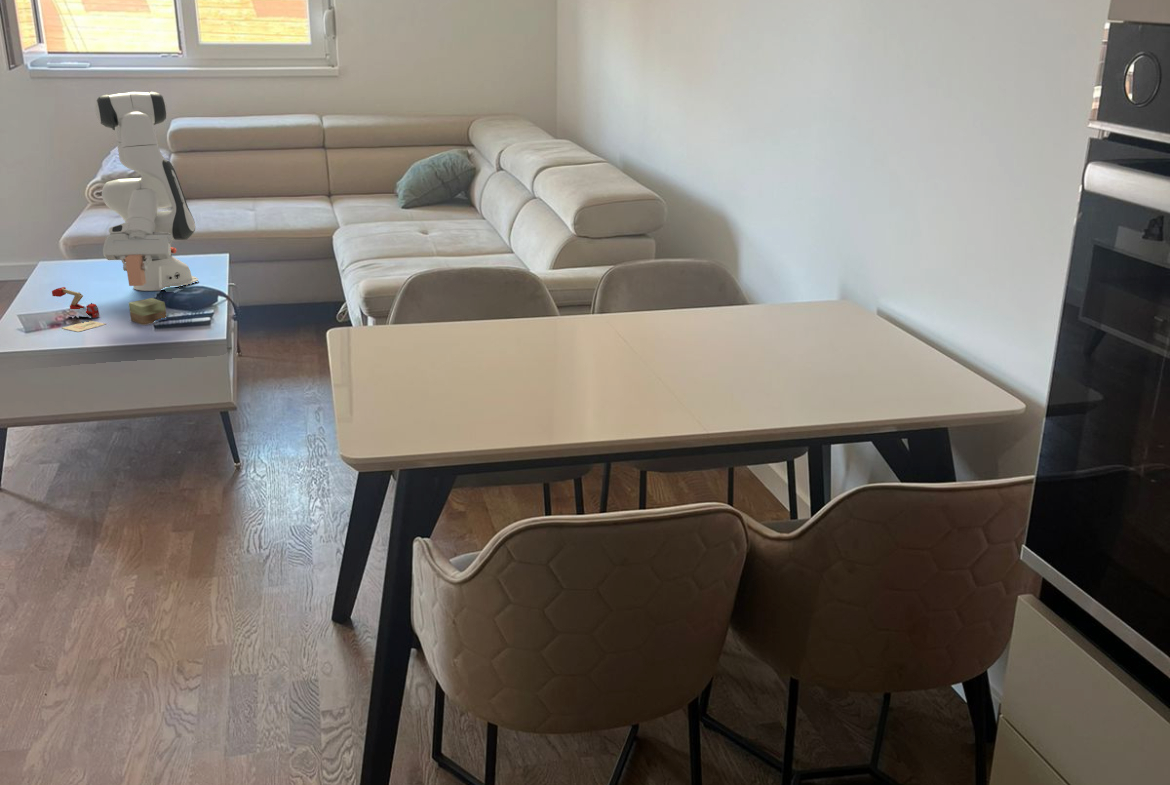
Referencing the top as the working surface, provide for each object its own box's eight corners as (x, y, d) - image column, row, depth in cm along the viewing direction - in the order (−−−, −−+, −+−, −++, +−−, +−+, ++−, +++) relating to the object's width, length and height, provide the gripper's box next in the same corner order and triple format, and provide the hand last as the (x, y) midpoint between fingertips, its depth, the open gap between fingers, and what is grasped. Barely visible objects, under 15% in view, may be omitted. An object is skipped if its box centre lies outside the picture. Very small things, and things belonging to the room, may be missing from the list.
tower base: (154, 315, 350) (151, 297, 348) (167, 319, 345) (164, 302, 343) (131, 320, 344) (128, 302, 342) (143, 325, 340) (141, 306, 338)
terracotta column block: (133, 282, 341) (128, 255, 338) (146, 282, 341) (141, 254, 338) (129, 285, 337) (124, 258, 334) (142, 285, 337) (138, 257, 334)
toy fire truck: (96, 319, 346) (91, 290, 343) (55, 318, 347) (50, 289, 344) (101, 316, 349) (96, 287, 346) (61, 315, 351) (56, 286, 347)
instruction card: (89, 320, 344) (89, 320, 344) (106, 324, 340) (105, 323, 340) (61, 328, 336) (61, 327, 336) (78, 332, 332) (78, 331, 332)
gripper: (175, 237, 346) (171, 274, 341) (110, 238, 345) (105, 275, 339) (170, 226, 341) (165, 263, 335) (104, 227, 339) (98, 265, 333)
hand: (134, 269), depth 337 cm, fingers closed on terracotta column block, 4 cm apart
